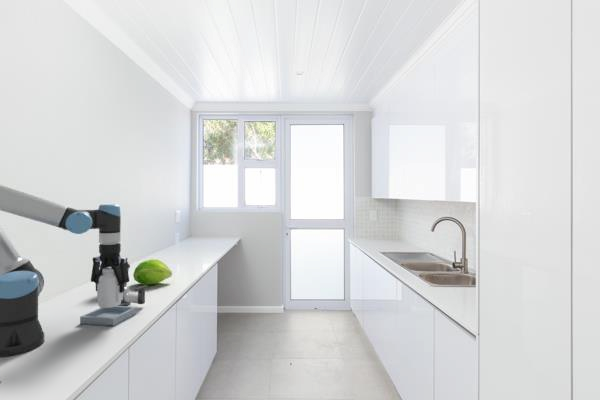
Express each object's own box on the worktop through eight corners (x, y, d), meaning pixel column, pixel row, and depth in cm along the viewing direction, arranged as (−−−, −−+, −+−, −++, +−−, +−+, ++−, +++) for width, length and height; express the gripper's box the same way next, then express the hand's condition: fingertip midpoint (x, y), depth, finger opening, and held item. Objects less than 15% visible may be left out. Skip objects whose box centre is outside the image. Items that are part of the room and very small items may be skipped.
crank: (112, 302, 153) (112, 285, 153) (123, 298, 158) (123, 282, 158) (138, 306, 148) (138, 288, 148) (148, 302, 154) (149, 285, 154)
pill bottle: (111, 309, 132) (111, 270, 132) (93, 307, 134) (93, 269, 134) (125, 302, 140) (125, 266, 140) (108, 301, 142) (108, 265, 141)
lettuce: (170, 286, 185) (170, 261, 185) (129, 288, 181) (129, 262, 180) (173, 279, 200) (173, 256, 200) (135, 281, 195) (136, 257, 195)
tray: (113, 326, 129) (113, 319, 129) (80, 323, 131) (80, 316, 131) (136, 313, 143) (136, 307, 143) (106, 311, 145) (106, 305, 145)
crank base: (123, 307, 151) (123, 304, 151) (109, 306, 152) (109, 303, 152) (146, 296, 167) (146, 294, 167) (133, 295, 168) (133, 293, 168)
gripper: (139, 242, 139) (139, 298, 139) (93, 241, 142) (93, 295, 142) (127, 245, 131) (127, 304, 132) (79, 243, 134) (79, 301, 135)
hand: (110, 299), depth 137 cm, fingers closed on pill bottle, 8 cm apart
